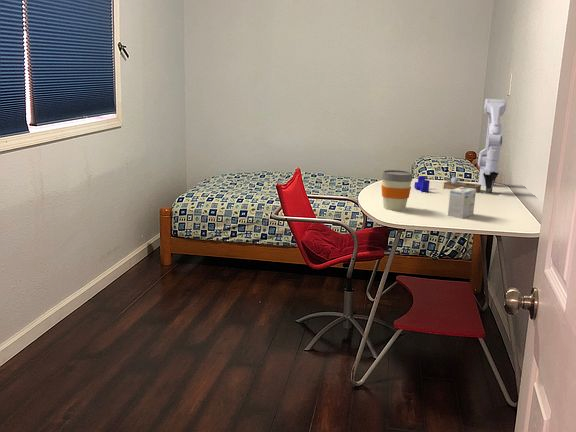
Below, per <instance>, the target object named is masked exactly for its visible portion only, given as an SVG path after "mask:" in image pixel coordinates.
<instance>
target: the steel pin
mask: <svg viewBox="0 0 576 432" xmlns="http://www.w3.org/2000/svg"><path fill="white" fill-rule="evenodd" d="M493 188H494V186H493V183H492V187H491V189H489V188H486V187H485V191H486V193H492V192H493Z"/></svg>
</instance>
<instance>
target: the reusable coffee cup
mask: <svg viewBox="0 0 576 432" xmlns="http://www.w3.org/2000/svg"><path fill="white" fill-rule="evenodd" d="M381 181H382V183H381V196H382V199H383V200H382V202H383V205H382V206H383V209H385V210H389V211H395V212H398V211H399V212H400V211H405V210H406V207H407V203H408V202H407V201H408V199H409V198H410V194H411V190H412V187H411V185H412V181H413V173H412V172H411V171H406V170H400V169H387V170H383V171H382V173H381Z"/></svg>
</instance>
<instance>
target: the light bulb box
mask: <svg viewBox="0 0 576 432" xmlns="http://www.w3.org/2000/svg"><path fill="white" fill-rule="evenodd" d="M476 194H477V192H476V189H473V188H466V187H459V188H456V189H453V190H452V189H449V197H448V208H447V216H449V217H453V218H458V219H465V218H468V217H471V216H473V215H474V214H475V213H474V212H475V210H474V209H475V203H476V196H477V195H476Z"/></svg>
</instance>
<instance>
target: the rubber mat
mask: <svg viewBox="0 0 576 432" xmlns="http://www.w3.org/2000/svg"><path fill="white" fill-rule="evenodd" d="M480 194H483V195H491V196H499V195H500V194H502V192H496V191H492V193H486V190H483V191H482V192H480Z"/></svg>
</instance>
